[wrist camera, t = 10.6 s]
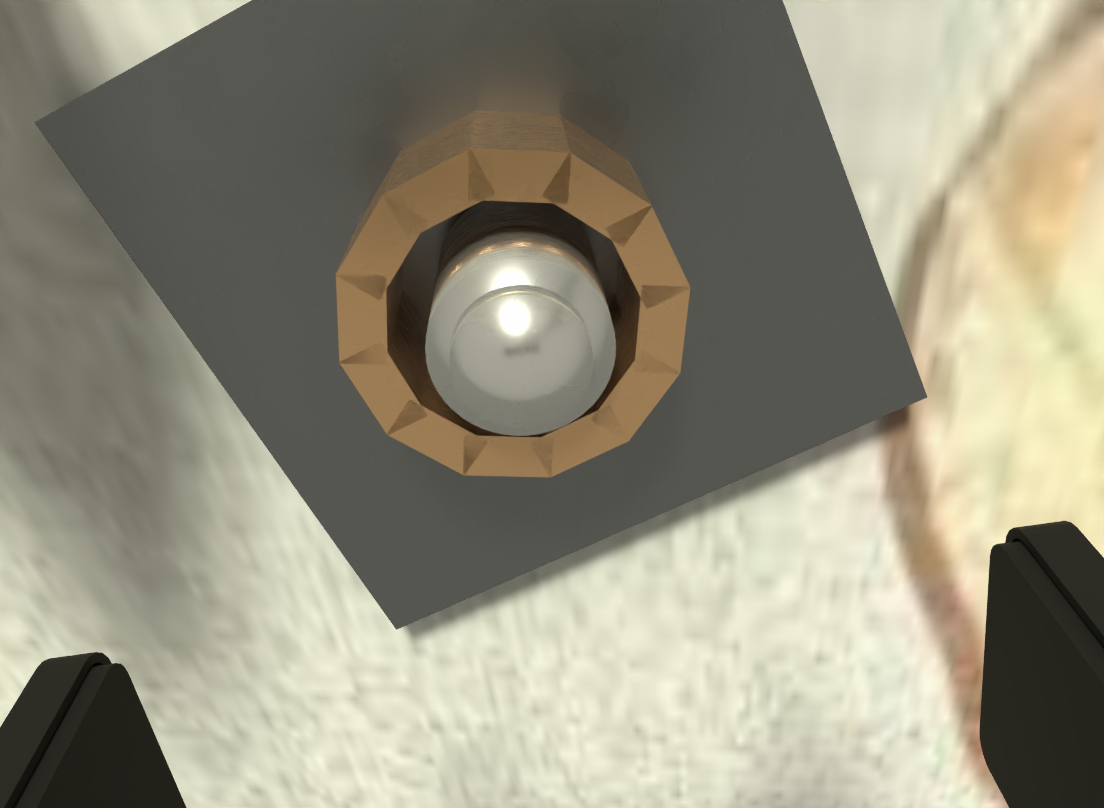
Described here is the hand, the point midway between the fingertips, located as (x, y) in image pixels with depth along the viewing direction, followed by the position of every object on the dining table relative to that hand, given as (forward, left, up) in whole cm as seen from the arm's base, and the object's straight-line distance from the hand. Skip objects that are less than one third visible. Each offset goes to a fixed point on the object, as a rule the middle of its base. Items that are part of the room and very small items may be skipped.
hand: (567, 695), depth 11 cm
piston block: (0, 0, -17) cm, 17 cm away
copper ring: (0, 0, -15) cm, 15 cm away
